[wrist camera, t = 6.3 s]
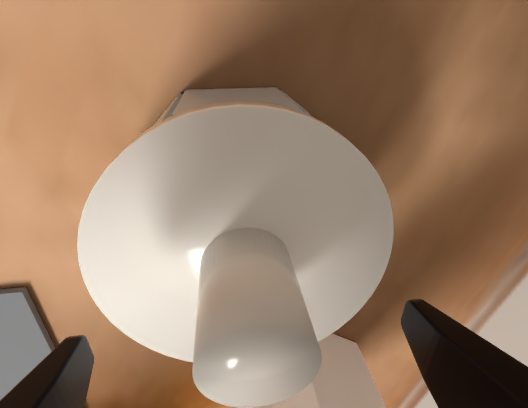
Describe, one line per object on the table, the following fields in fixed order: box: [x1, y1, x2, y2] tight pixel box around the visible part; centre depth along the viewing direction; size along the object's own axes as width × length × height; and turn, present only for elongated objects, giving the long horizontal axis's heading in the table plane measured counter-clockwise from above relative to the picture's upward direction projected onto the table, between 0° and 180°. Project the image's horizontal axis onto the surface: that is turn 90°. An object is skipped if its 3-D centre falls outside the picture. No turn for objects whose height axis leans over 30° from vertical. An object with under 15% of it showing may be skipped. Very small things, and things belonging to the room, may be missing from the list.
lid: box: [77, 101, 394, 408], centre depth 10 cm, size 11×11×5 cm
